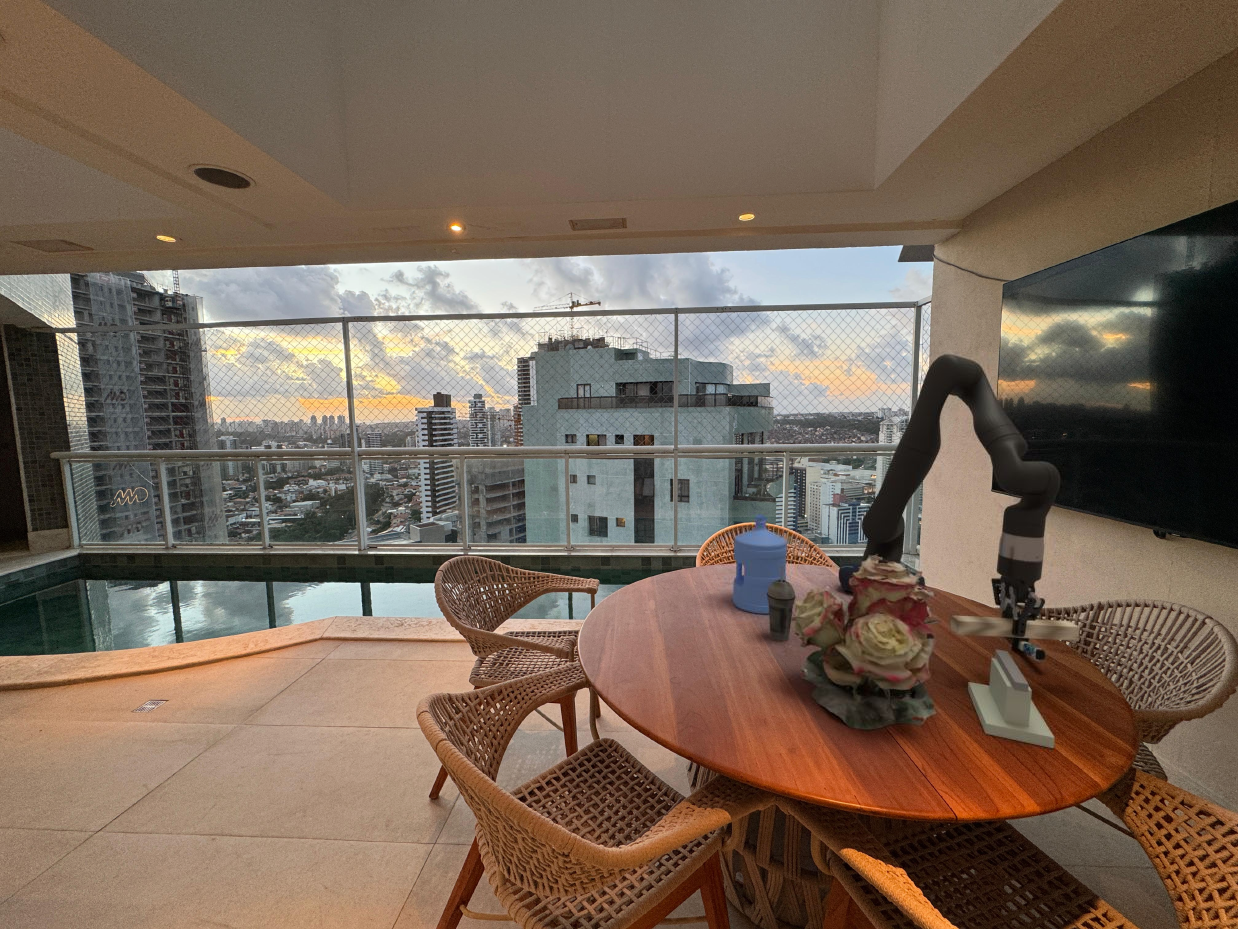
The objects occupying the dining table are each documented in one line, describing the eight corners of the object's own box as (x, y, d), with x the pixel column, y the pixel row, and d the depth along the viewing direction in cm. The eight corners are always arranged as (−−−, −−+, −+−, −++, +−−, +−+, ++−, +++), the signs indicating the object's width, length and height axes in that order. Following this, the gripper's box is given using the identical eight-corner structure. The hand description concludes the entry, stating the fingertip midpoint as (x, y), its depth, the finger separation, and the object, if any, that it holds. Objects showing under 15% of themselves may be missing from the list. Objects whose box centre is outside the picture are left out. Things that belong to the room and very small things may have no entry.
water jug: (790, 602, 159) (793, 514, 156) (776, 619, 146) (779, 523, 143) (742, 592, 167) (744, 509, 165) (725, 608, 154) (727, 517, 151)
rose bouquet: (778, 666, 119) (782, 541, 116) (904, 667, 118) (911, 542, 115) (818, 735, 93) (825, 577, 90) (979, 737, 93) (991, 578, 90)
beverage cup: (794, 633, 136) (796, 561, 134) (794, 645, 129) (796, 569, 127) (766, 630, 139) (768, 558, 137) (764, 641, 132) (766, 566, 130)
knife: (1046, 670, 114) (1047, 650, 114) (1030, 667, 115) (1031, 648, 115) (1002, 631, 143) (1003, 615, 142) (989, 629, 144) (990, 613, 144)
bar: (957, 634, 109) (959, 621, 109) (950, 628, 112) (951, 615, 112) (1078, 640, 107) (1079, 627, 107) (1067, 634, 110) (1068, 621, 110)
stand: (1053, 748, 90) (1058, 692, 89) (985, 733, 94) (989, 679, 93) (1026, 701, 104) (1030, 653, 103) (967, 690, 108) (971, 643, 107)
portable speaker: (833, 592, 168) (835, 563, 167) (842, 584, 175) (843, 556, 174) (921, 610, 152) (923, 578, 151) (925, 601, 160) (927, 570, 159)
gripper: (1065, 565, 100) (1055, 648, 102) (1016, 546, 114) (1009, 619, 116) (1024, 564, 101) (1015, 646, 103) (981, 545, 115) (974, 618, 117)
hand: (1012, 631), depth 110 cm, fingers closed on bar, 3 cm apart
